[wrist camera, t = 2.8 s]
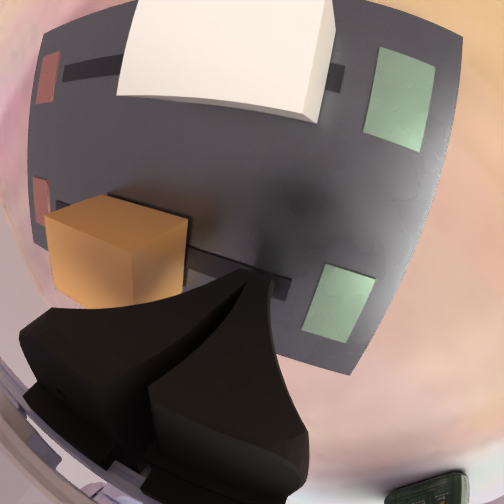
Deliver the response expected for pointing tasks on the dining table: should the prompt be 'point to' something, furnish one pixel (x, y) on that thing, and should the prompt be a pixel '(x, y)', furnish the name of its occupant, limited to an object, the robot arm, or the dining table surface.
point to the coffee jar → (434, 491)
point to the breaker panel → (264, 167)
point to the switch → (231, 54)
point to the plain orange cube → (115, 252)
